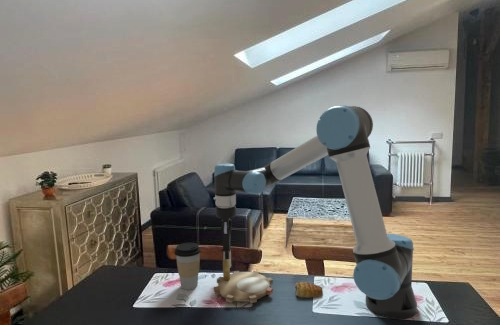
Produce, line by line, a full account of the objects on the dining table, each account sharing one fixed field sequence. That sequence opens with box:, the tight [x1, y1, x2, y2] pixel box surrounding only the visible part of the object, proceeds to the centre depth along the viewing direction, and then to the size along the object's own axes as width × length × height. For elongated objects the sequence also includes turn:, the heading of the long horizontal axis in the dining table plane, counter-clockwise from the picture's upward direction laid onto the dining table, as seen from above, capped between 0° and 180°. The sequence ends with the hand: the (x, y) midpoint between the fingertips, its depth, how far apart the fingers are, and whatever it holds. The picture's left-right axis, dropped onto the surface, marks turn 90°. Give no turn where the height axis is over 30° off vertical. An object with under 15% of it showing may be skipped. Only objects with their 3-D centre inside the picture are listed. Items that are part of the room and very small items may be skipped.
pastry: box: [294, 281, 323, 299], centre depth 120 cm, size 9×7×4 cm
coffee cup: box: [173, 242, 202, 291], centre depth 126 cm, size 9×9×15 cm
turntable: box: [213, 259, 274, 304], centre depth 122 cm, size 21×21×9 cm
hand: (227, 266), depth 131 cm, fingers closed
